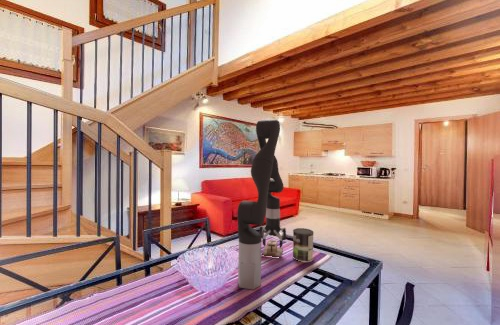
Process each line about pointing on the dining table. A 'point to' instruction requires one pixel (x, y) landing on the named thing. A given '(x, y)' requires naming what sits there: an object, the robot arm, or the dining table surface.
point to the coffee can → (303, 244)
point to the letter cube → (271, 246)
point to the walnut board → (277, 254)
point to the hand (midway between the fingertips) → (272, 246)
